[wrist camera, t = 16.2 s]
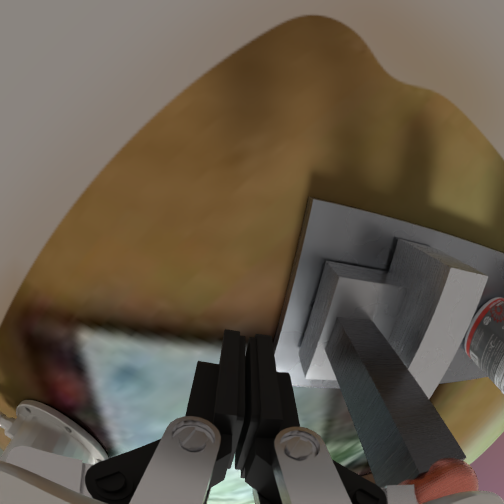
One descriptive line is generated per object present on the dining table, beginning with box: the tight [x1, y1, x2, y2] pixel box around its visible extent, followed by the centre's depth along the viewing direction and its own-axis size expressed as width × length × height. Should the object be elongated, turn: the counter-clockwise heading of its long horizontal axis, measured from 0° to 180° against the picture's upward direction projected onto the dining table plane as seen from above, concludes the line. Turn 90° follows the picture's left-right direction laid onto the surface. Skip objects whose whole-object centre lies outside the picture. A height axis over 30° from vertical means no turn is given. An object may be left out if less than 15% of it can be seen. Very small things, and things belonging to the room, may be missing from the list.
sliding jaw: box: [298, 239, 488, 504], centre depth 9 cm, size 7×10×14 cm
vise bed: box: [273, 197, 504, 388], centre depth 15 cm, size 26×12×6 cm, turn 79°
